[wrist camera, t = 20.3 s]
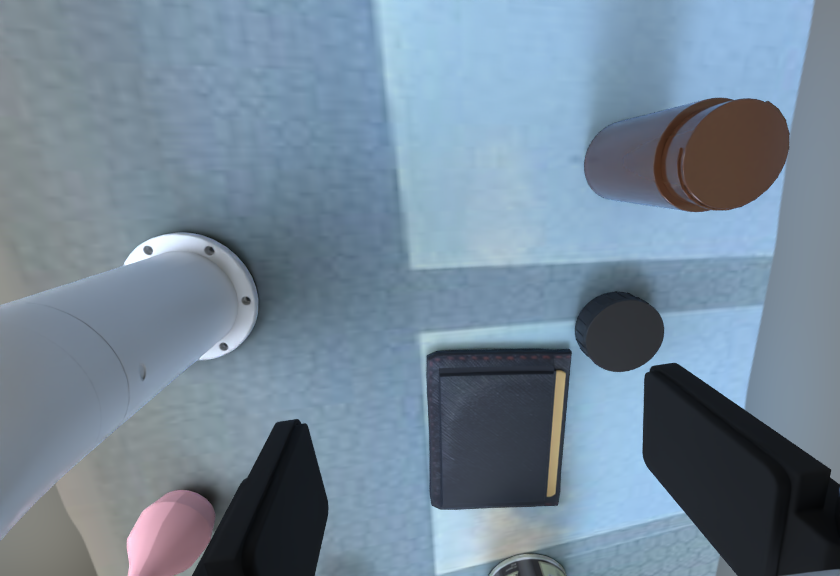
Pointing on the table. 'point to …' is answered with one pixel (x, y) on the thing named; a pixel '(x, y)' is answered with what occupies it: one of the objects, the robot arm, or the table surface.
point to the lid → (619, 331)
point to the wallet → (496, 427)
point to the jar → (691, 155)
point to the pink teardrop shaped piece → (170, 534)
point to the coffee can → (528, 566)
